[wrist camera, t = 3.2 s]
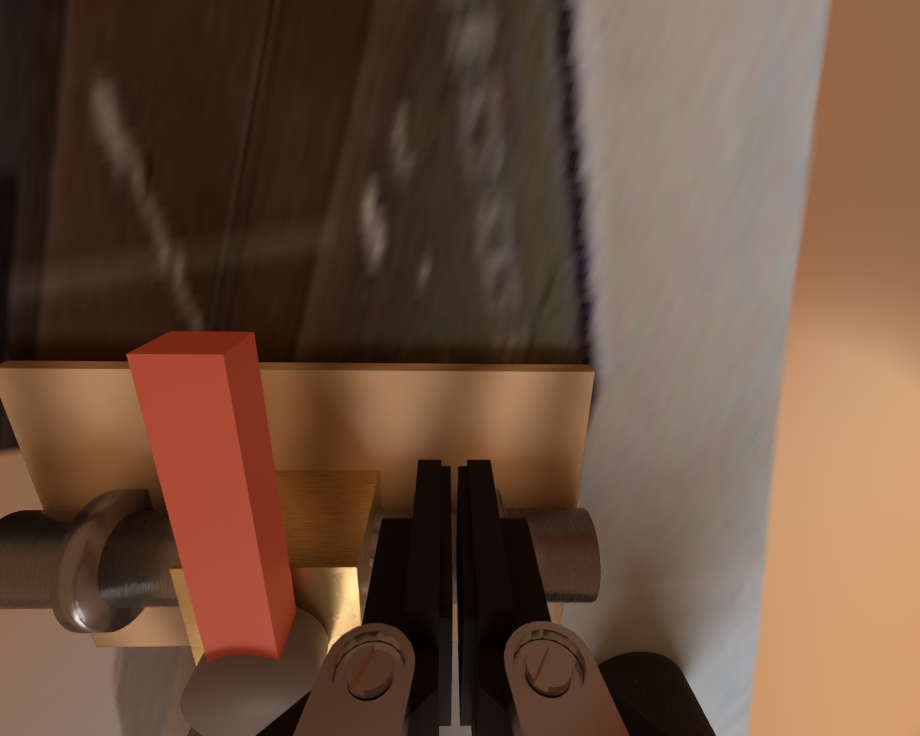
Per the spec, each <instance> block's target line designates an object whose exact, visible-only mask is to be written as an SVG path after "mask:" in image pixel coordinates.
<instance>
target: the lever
mask: <svg viewBox="0 0 920 736" xmlns="http://www.w3.org/2000/svg"><path fill="white" fill-rule="evenodd" d="M126 355H127V359H128V363H129V367H130V370H131V374H132V378H133V382H134V386H135V389H136V393H137V397H138V401H139V405H140V408H141V412H142V416H143V420H144V424H145V427H146V431H147V435H148V439H149V443H150V446H151V450H152V454H153V458H154V462H155V465H156V469H157V473H158V477H159V481H160V484H161V488H162V492H163V496H164V500H165V503H166V507H167V511H168V515H169V519H170V523H171V526H172V530H173V534H174V538H175V542H176V545H177V549H178V553H179V557H180V561H181V564H182V568H183V572H184V576H185V580H186V583H187V587H188V591H189V595H190V599H191V602H192V606H193V610H194V614H195V618H196V621H197V625H198V629H199V633H200V637H201V640H202V644H203V648H204V653H203V655H202V657H201V659H200V661H199V663H198V665H197V667H196V668H195V670H194V672H193V674H192V676H191V678H190V680H189V682H188V684H187V686H186V688H185V690H184V692H183V694H182V698H181V709H182V712H183V715H184V717H185V719H186V720H187V722H188V723H189V724H190V725H191V727H192V728H193V729H195V730H196V731H197V732H198V733H200V734H201V735H202V736H256V735H257V734H258V733H259V732H260V731H262V730H263V729H264V728H265V727H267V726H268V725H269V724H270V723H272V722H273V721H274V720H275V719H276V718H278V717H279V716H280V715H281V714H283V713H284V712H285V711H286V710H287V709H289V708H290V707H291V706H292V705H294V704H295V703H296V702H297V701H298V700H300V699H301V698H302V697H303V696H305V695H306V694H307V693H308V692H309V691H311V690H312V688H313V685H314V683H315V681H316V678H317V676H318V673H319V671H320V668H321V666H322V664H323V661H324V659H325V657H326V655H327V651H328V637H327V634H326V631H325V629H324V628H323V626H322V625H321V623H320V622H319V621H318V620H317V619H316V618H315V617H314V616H313V615H311V614H310V613H308V612H307V611H305V610H303V609H301V608H299V607H297V606H296V605H295V598H294V592H293V585H292V579H291V572H290V565H289V559H288V552H287V546H286V539H285V532H284V526H283V519H282V513H281V506H280V500H279V493H278V486H277V480H276V473H275V467H274V460H273V453H272V447H271V440H270V434H269V427H268V421H267V414H266V407H265V401H264V394H263V388H262V381H261V374H260V368H259V361H258V355H257V348H256V342H255V335H254V332H222V331H170V332H168V333H166V334H164V335H162V336H160V337H158V338H156V339H154V340H152V341H150V342H149V343H147V344H145V345H143V346H141V347H139V348H137V349H135V350H133V351H131V352H129V353H127V354H126Z"/></svg>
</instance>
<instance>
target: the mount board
mask: <svg viewBox="0 0 920 736" xmlns="http://www.w3.org/2000/svg"><path fill="white" fill-rule="evenodd" d="M259 368H260V374H261V381H262V388H263V394H264V401H265V407H266V414H267V421H268V427H269V434H270V440H271V447H272V453H273V460H274V467H275V470H379V471H380V489H381V508H382V509H413V508H414V498H415V488H416V478H417V468H418V460H442V466H451V509H453V508H457V489H458V466H467V460H491V465H492V472H493V478H494V484H495V488H498V489H499V491H500V494H501V498H502V503H503V508H576V507H577V500H578V492H579V485H580V477H581V470H582V463H583V455H584V448H585V441H586V433H587V426H588V418H589V411H590V404H591V396H592V389H593V382H594V374H595V372H594V370H593V369H592V368H591V367H590V366H589V365H584V364H433V363H282V362H259ZM0 397H1V400H2V403H3V405H4V408H5V410H6V413H7V416H8V418H9V421H10V423H11V426H12V429H13V431H14V434H15V436H16V439H17V442H18V444H19V447H20V450H21V452H22V455H23V457H24V460H25V462H26V465H27V468H28V470H29V473H30V476H31V478H32V481H33V483H34V486H35V489H36V491H37V494H38V496H39V499H40V502H41V504H42V507H43V510H82V509H83V508H84V507H85V506H86V505H87V504H88V503H89V502H90V501H92V500H93V499H94V498H96V497H97V496H99V495H101V494H103V493H105V492H107V491H111V490H117V489H146V490H148V491H149V495H150V498H151V502H152V505H153V509H154V510H167V507H166V503H165V500H164V496H163V492H162V488H161V484H160V481H159V477H158V473H157V469H156V465H155V462H154V458H153V454H152V450H151V446H150V443H149V439H148V435H147V431H146V427H145V424H144V420H143V416H142V412H141V408H140V405H139V401H138V397H137V393H136V389H135V386H134V382H133V378H132V374H131V370H130V367H129V363H128V361H7V362H4V363H2V364H0ZM547 605H548V609H549V613H550V618H551V622H552V623H555V624H559V625H561V618H562V610H563V603H547ZM91 635H92V637H93V640H94V643H95V645H96V647H143V646H191V645H190V642H189V638H188V635H187V631H186V627H185V624H184V620H183V616H182V613H181V609H180V607H145V609H144V610H143V611H142V612H141V614H140V615H139V616H138V617H137V618H136V619H135V620H134V621H132V622H131V623H130V624H129V625H127V626H126V627H124V628H122V629H120V630H118V631H115V632H108V633H91ZM452 642H458V622H457V604H453V631H452Z"/></svg>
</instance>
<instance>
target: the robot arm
mask: <svg viewBox="0 0 920 736" xmlns="http://www.w3.org/2000/svg"><path fill="white" fill-rule="evenodd" d="M456 582H457V622H458V661H459V701H460V726H471V729H472V736H669V735H667V734H666V733H665V732H664V731H662V730H661V729H660V728H658V727H657V726H656V725H654V724H653V723H652V722H651V721H649V720H648V719H647V718H645V717H644V716H643V715H641V714H640V713H639V712H638V711H636V710H635V709H634V708H632V707H631V706H630V705H629V704H627V703H626V702H625V701H623V700H622V699H621V698H619V697H618V696H617V695H616V694H614V693H613V692H612V691H610V690H609V689H608V688H607V686H606V684H605V682H604V679H603V677H602V675H601V673H600V671H599V669H598V666H597V664H596V662H595V660H594V658H593V656H592V654H591V652H590V651H589V649H588V647H587V646H586V644H585V643H584V642H583V641H582V640H581V639H580V638H579V637H578V636H577V635H576V634H575V633H574V632H572V631H571V630H569V629H567V628H565V627H564V626H562V625H559V624H555V623H552V622H551V618H550V613H549V609H548V605H547V601H546V597H545V592H544V588H543V584H542V580H541V575H540V571H539V567H538V563H537V559H536V554H535V550H534V546H533V542H532V538H531V533H530V529H529V525H528V522H527V519H526V518H525V517H517V518H500V516H499V510H498V503H497V497H496V491H495V484H494V478H493V472H492V465H491V460H467V466H458V489H457V538H456ZM452 631H453V581H452V517H451V466H442V460H418V468H417V478H416V488H415V498H414V508H413V518H383V519H382V522H381V526H380V531H379V536H378V542H377V547H376V552H375V558H374V563H373V568H372V573H371V579H370V584H369V589H368V594H367V600H366V605H365V610H364V615H363V621H362V626H358V627H355V628H353V629H352V630H350V631H348V632H347V633H345V634H343V635H342V636H341V637H340V638H339V639H338V640H337V641H336V642H335V643H334V644H333V645H332V646H331V648H330V650H329V652H328V653H327V655H326V657H325V659H324V661H323V664H322V666H321V668H320V671H319V673H318V676H317V678H316V681H315V683H314V685H313V688H312V690H311V691H309V692H308V693H307V694H306V695H305V696H303V697H302V698H301V699H300V700H298V701H297V702H296V703H295V704H294V705H292V706H291V707H290V708H289V709H287V710H286V711H285V712H284V713H283V714H281V715H280V716H279V717H278V718H276V719H275V720H274V721H273V722H272V723H270V724H269V725H268V726H267V727H265V728H264V729H263V730H262V731H260V732H259V733H258V734H257V735H256V736H439V726H451V687H452Z"/></svg>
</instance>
